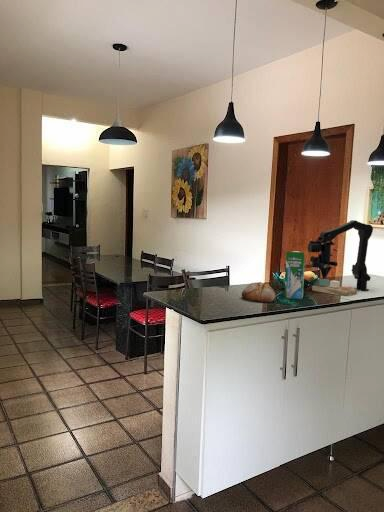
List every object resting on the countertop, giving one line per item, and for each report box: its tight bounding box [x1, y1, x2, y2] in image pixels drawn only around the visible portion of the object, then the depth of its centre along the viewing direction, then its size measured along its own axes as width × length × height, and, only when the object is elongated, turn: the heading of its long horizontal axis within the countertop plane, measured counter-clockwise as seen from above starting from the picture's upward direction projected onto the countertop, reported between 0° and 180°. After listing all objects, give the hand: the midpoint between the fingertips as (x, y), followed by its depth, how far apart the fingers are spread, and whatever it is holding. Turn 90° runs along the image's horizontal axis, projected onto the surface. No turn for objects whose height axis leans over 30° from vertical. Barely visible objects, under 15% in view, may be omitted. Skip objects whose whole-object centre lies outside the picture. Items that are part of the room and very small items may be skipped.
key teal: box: [318, 278, 330, 286], centre depth 243 cm, size 4×4×4 cm
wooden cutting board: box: [311, 284, 359, 297], centre depth 238 cm, size 12×22×2 cm, turn 41°
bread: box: [241, 281, 276, 303], centre depth 213 cm, size 16×20×10 cm
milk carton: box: [283, 250, 306, 300], centre depth 219 cm, size 9×9×25 cm
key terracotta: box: [340, 285, 352, 291], centre depth 233 cm, size 4×4×4 cm
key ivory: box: [329, 279, 341, 288], centre depth 238 cm, size 4×4×4 cm
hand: (324, 278), depth 243 cm, fingers closed
